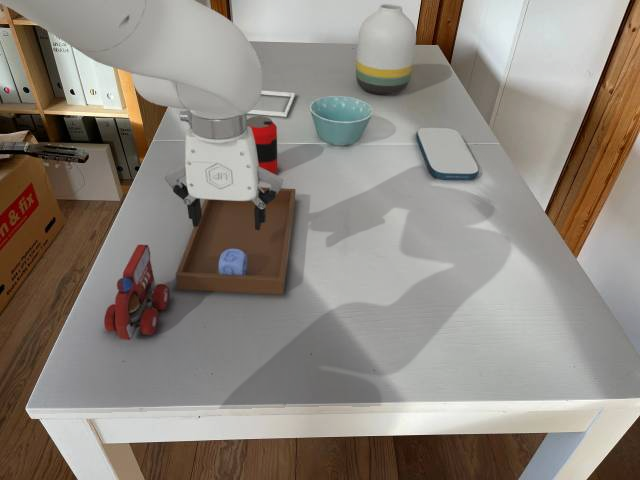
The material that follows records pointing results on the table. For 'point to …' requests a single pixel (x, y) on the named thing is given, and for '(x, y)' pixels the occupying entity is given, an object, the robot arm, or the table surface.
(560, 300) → the table surface
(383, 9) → the vase
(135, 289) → the toy fire truck
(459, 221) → the table surface
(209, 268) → the tray
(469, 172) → the external hard drive
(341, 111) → the bowl
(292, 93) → the photo frame
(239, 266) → the decorative dice
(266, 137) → the soda can
